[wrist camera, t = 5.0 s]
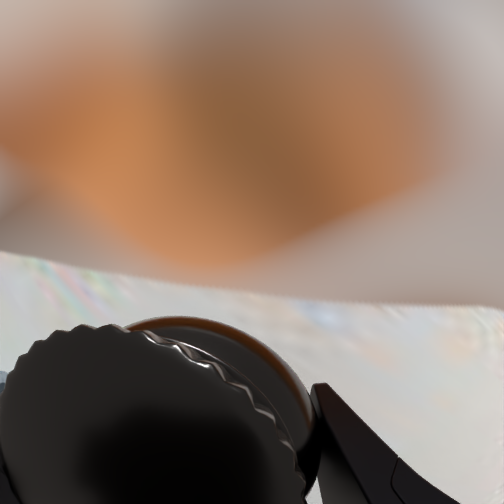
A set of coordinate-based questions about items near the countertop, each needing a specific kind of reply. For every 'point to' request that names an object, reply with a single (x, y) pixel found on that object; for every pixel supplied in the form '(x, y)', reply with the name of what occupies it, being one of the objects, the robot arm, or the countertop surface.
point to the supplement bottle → (157, 418)
